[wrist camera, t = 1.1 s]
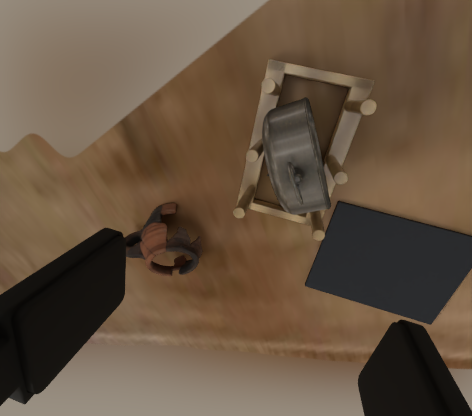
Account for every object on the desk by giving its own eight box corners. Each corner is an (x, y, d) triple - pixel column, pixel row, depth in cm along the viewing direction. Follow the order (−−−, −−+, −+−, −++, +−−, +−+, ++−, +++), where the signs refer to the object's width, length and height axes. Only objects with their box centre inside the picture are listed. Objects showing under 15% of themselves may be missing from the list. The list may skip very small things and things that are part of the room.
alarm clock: (327, 185, 33) (350, 252, 18) (285, 194, 35) (276, 263, 20) (308, 96, 30) (319, 91, 15) (263, 111, 31) (233, 120, 17)
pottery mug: (193, 193, 38) (193, 237, 32) (208, 232, 45) (211, 274, 39) (114, 210, 38) (101, 256, 33) (141, 245, 45) (135, 289, 40)
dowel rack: (371, 81, 28) (404, 72, 19) (317, 223, 35) (324, 262, 26) (270, 61, 29) (258, 43, 20) (238, 201, 36) (220, 232, 28)
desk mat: (487, 240, 31) (490, 242, 31) (429, 322, 37) (431, 324, 36) (338, 200, 33) (338, 202, 33) (304, 284, 39) (305, 286, 39)
